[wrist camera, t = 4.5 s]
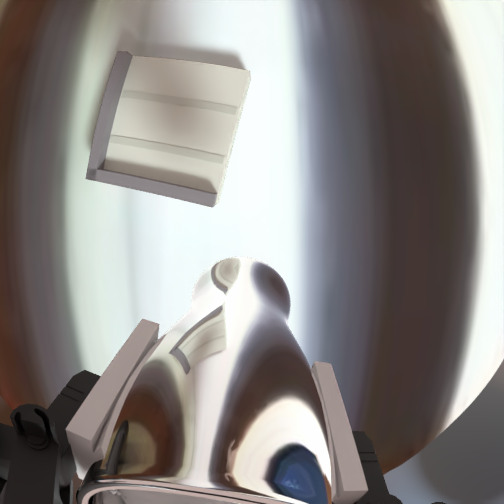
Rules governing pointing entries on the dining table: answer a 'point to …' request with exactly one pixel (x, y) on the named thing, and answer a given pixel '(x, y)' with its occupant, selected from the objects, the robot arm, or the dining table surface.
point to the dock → (168, 127)
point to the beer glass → (219, 406)
